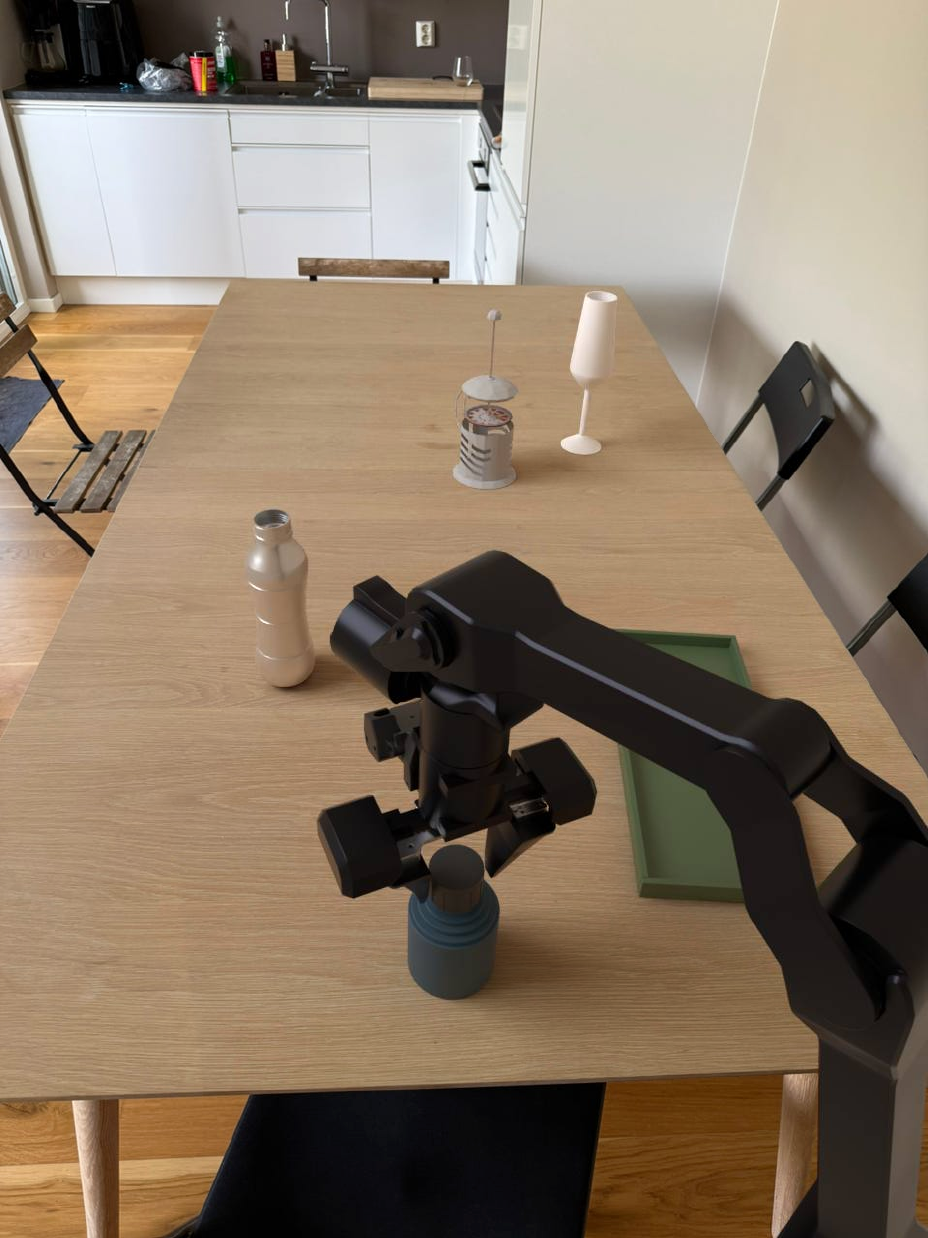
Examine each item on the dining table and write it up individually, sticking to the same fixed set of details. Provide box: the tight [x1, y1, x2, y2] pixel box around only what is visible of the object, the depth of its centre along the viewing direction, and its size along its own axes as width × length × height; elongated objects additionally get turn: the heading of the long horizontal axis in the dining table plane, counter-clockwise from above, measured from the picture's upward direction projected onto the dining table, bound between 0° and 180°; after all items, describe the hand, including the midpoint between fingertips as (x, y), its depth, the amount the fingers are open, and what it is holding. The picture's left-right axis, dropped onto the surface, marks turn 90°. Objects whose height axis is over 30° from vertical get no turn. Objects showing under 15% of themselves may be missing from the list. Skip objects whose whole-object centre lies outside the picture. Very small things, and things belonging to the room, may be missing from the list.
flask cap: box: [428, 843, 486, 913], centre depth 65 cm, size 4×4×3 cm
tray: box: [610, 627, 819, 904], centre depth 91 cm, size 35×15×2 cm, turn 178°
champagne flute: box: [560, 290, 618, 456], centre depth 138 cm, size 7×7×24 cm
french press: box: [452, 309, 519, 490], centre depth 129 cm, size 10×12×25 cm
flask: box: [407, 879, 501, 1000], centre depth 68 cm, size 7×7×12 cm
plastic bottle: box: [243, 508, 317, 688], centre depth 92 cm, size 6×7×20 cm
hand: (455, 885), depth 66 cm, fingers open, 5 cm apart
